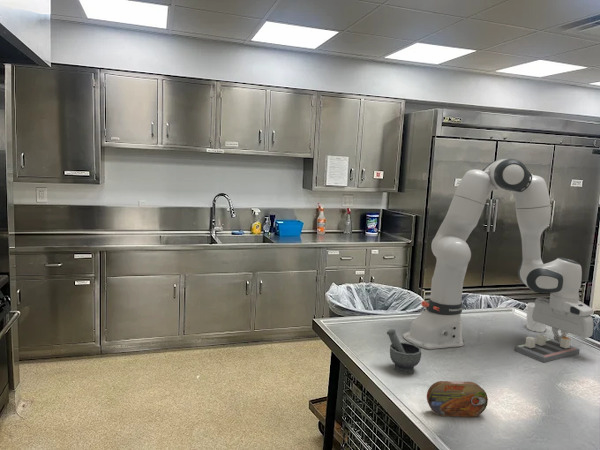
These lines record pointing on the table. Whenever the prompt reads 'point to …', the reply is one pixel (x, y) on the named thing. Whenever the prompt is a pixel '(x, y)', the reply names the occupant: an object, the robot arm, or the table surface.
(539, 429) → the table surface
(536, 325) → the white cup
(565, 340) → the block
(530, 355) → the panel
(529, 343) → the block
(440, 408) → the tin
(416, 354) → the mortar and pestle
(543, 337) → the block
